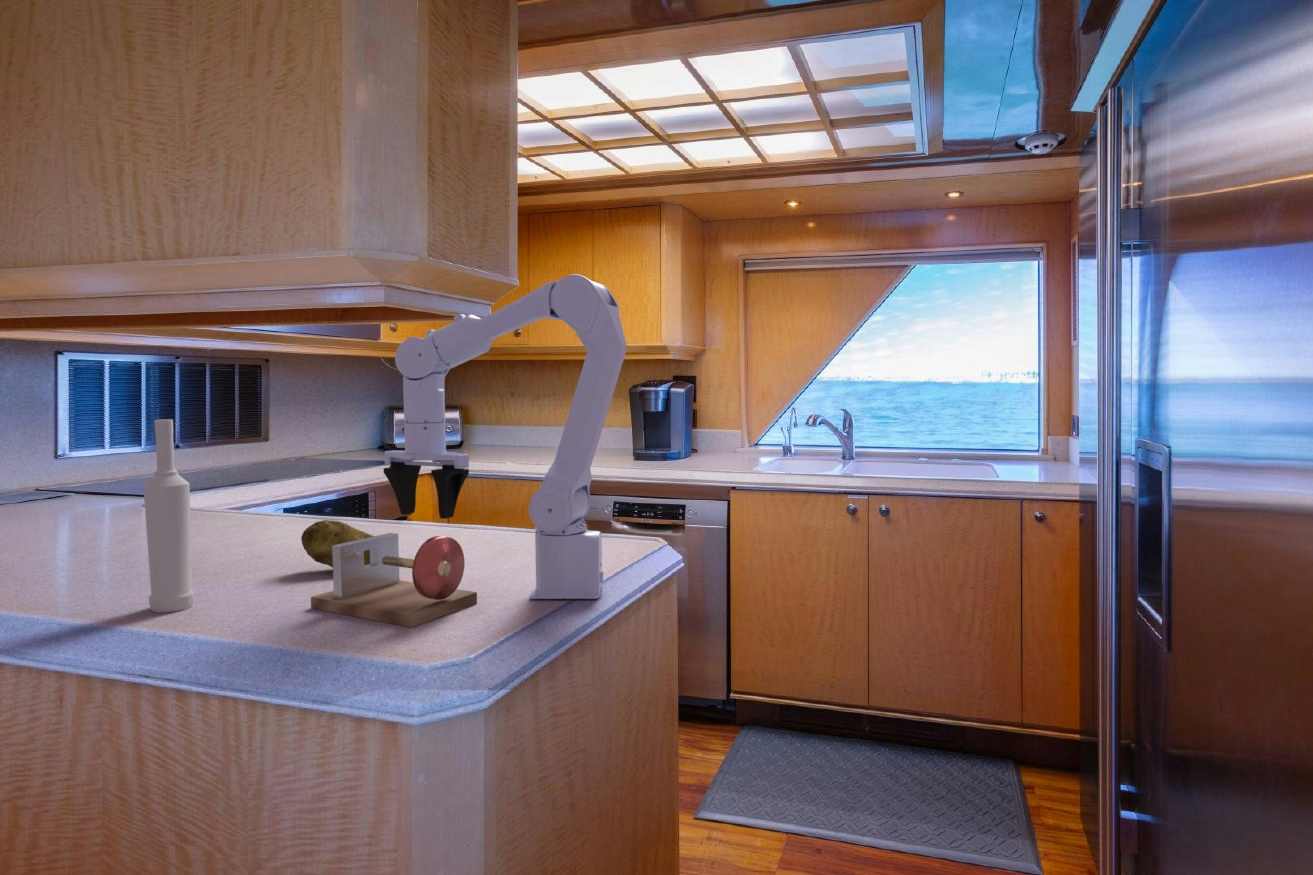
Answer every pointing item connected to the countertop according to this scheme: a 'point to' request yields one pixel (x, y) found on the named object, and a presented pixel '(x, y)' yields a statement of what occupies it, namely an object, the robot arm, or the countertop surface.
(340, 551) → the eye plate
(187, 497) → the bottle
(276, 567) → the countertop surface
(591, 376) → the robot arm
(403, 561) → the copper disc on rod
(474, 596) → the base board
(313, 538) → the potato
